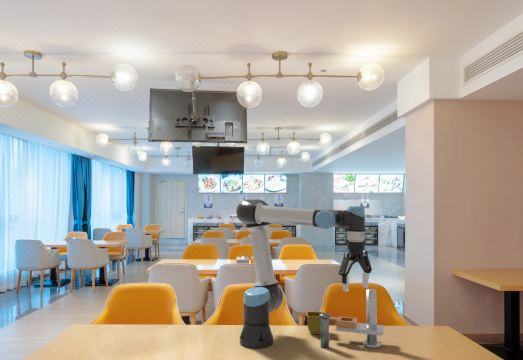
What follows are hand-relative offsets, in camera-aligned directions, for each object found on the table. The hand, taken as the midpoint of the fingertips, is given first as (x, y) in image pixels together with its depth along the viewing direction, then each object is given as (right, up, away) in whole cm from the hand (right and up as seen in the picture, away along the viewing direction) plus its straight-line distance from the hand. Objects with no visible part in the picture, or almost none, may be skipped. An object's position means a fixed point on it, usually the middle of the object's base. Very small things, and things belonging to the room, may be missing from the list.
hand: (355, 289), depth 184 cm
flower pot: (-15, -26, +17) cm, 35 cm away
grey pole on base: (0, -25, +3) cm, 25 cm away
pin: (-14, -25, -2) cm, 28 cm away
